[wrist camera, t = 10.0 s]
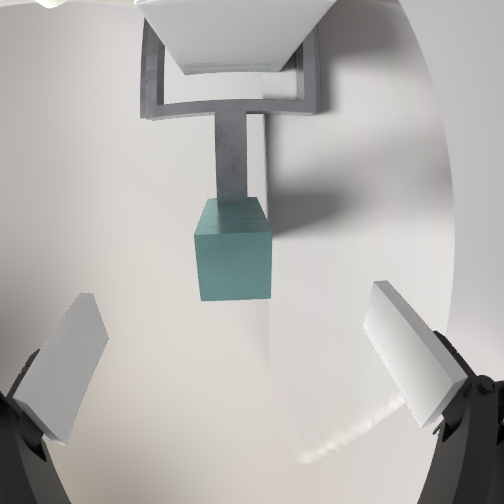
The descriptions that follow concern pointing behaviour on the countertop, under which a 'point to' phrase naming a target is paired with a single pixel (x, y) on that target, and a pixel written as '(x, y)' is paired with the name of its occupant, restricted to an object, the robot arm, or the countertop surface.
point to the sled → (231, 179)
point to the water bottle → (51, 3)
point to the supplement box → (232, 31)
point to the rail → (143, 69)
